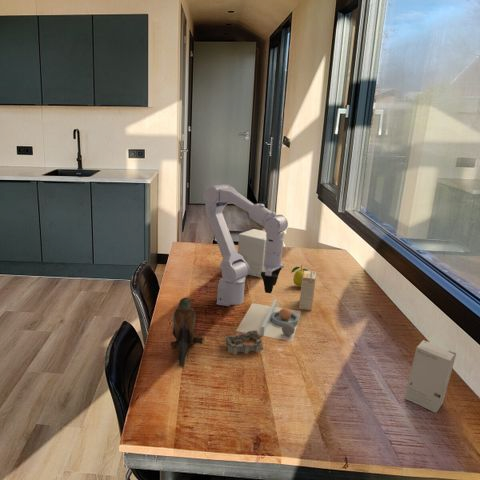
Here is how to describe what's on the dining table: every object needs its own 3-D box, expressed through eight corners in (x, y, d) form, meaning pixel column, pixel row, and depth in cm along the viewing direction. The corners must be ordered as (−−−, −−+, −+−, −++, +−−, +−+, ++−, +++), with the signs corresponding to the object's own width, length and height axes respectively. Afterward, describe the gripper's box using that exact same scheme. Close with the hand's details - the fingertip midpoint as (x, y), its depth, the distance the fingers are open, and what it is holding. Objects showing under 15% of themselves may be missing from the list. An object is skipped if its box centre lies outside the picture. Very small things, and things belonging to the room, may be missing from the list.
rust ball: (277, 320, 143) (279, 310, 142) (279, 315, 147) (280, 305, 146) (289, 323, 143) (291, 312, 141) (291, 317, 146) (292, 307, 145)
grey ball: (280, 336, 134) (281, 325, 133) (282, 331, 138) (283, 319, 137) (293, 339, 133) (294, 327, 132) (294, 333, 137) (296, 321, 136)
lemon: (289, 288, 177) (291, 265, 174) (292, 283, 182) (295, 261, 179) (305, 291, 175) (307, 268, 172) (308, 286, 180) (311, 264, 177)
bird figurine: (202, 367, 115) (205, 293, 121) (165, 366, 115) (170, 292, 120) (203, 366, 128) (206, 299, 134) (170, 365, 128) (174, 298, 133)
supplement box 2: (311, 312, 155) (315, 278, 151) (298, 311, 156) (302, 277, 152) (312, 304, 163) (316, 271, 159) (300, 302, 164) (303, 269, 160)
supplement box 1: (275, 270, 196) (279, 233, 192) (261, 278, 186) (264, 239, 181) (251, 264, 203) (253, 228, 198) (235, 271, 192) (238, 233, 188)
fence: (260, 335, 134) (261, 326, 133) (273, 306, 156) (274, 299, 155) (263, 336, 134) (264, 327, 133) (276, 307, 155) (277, 299, 155)
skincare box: (403, 399, 109) (413, 346, 105) (411, 389, 113) (421, 338, 109) (438, 414, 104) (450, 360, 100) (445, 403, 108) (457, 350, 104)
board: (235, 333, 136) (235, 330, 136) (252, 305, 158) (252, 303, 157) (292, 344, 132) (292, 341, 132) (301, 313, 154) (301, 311, 153)
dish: (268, 324, 142) (269, 320, 141) (273, 313, 150) (274, 309, 150) (296, 329, 140) (296, 324, 139) (299, 317, 148) (299, 313, 148)
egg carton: (257, 341, 133) (258, 329, 132) (263, 354, 126) (265, 341, 125) (223, 342, 131) (224, 330, 130) (228, 355, 124) (229, 343, 123)
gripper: (281, 258, 137) (278, 298, 141) (288, 247, 150) (285, 283, 154) (260, 255, 139) (257, 294, 142) (268, 244, 152) (265, 280, 156)
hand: (270, 288), depth 148 cm, fingers open, 7 cm apart
